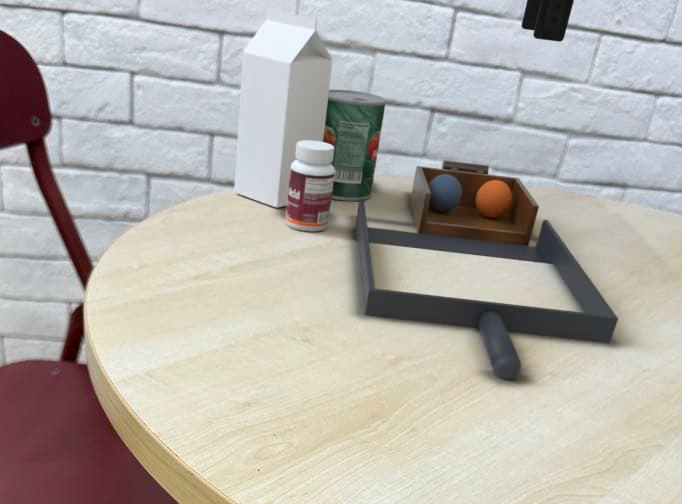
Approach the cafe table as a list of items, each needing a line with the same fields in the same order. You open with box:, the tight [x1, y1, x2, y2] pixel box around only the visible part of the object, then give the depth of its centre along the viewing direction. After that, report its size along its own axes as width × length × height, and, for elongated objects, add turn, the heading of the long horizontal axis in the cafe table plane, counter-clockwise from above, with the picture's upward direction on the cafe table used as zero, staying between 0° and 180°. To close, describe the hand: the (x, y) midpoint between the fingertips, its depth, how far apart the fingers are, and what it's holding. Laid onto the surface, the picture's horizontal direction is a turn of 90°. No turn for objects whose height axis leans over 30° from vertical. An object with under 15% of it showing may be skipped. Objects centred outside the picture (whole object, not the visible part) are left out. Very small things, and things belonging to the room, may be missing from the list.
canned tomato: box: [323, 89, 387, 202], centre depth 104 cm, size 8×8×11 cm
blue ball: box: [428, 174, 462, 212], centre depth 101 cm, size 4×4×4 cm
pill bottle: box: [284, 140, 335, 233], centre depth 92 cm, size 5×5×8 cm
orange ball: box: [476, 180, 512, 218], centre depth 101 cm, size 4×4×4 cm
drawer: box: [409, 159, 540, 246], centre depth 101 cm, size 13×16×5 cm
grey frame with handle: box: [354, 198, 619, 381], centre depth 79 cm, size 38×21×3 cm, turn 177°
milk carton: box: [233, 8, 333, 208], centre depth 96 cm, size 7×7×19 cm
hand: (540, 34), depth 95 cm, fingers open, 9 cm apart
